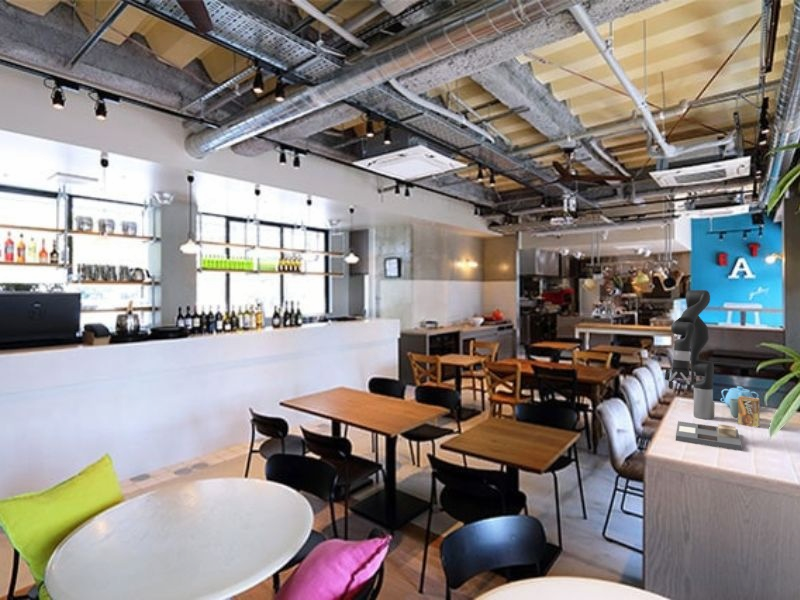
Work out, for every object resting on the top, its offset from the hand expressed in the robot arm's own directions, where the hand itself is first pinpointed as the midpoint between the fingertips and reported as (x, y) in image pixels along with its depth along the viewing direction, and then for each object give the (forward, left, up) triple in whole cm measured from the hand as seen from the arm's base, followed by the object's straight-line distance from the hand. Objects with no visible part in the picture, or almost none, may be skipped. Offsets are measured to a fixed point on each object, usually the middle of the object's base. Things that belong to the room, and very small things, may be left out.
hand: (679, 390), depth 232 cm
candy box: (-43, -11, -22) cm, 50 cm away
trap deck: (-8, +9, -22) cm, 25 cm away
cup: (-48, -26, -22) cm, 59 cm away
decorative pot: (-63, -46, -22) cm, 81 cm away
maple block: (-15, +13, -20) cm, 28 cm away
